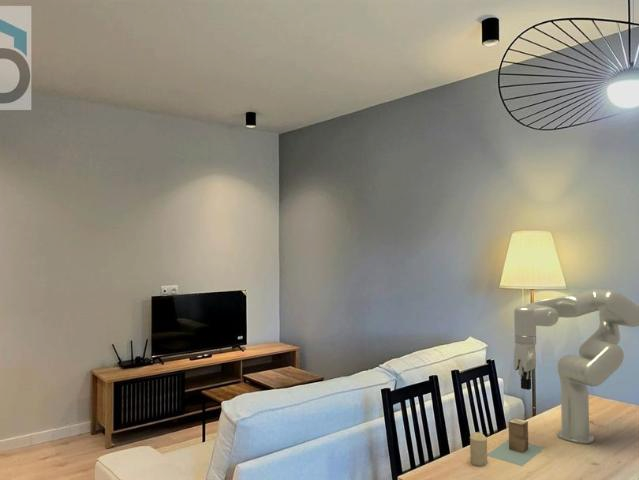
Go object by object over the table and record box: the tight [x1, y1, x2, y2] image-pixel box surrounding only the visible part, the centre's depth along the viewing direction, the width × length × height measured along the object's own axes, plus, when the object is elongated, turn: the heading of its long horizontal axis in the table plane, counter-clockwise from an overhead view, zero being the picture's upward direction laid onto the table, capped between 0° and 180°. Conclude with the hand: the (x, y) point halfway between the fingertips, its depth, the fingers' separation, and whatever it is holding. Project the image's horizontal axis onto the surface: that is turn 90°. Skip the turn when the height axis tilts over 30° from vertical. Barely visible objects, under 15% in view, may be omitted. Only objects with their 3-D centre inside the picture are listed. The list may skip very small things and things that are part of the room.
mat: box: [487, 439, 546, 467], centre depth 176 cm, size 21×13×1 cm, turn 136°
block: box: [508, 417, 529, 453], centre depth 178 cm, size 5×5×10 cm
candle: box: [469, 431, 488, 467], centre depth 168 cm, size 6×6×10 cm
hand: (526, 388), depth 184 cm, fingers closed
